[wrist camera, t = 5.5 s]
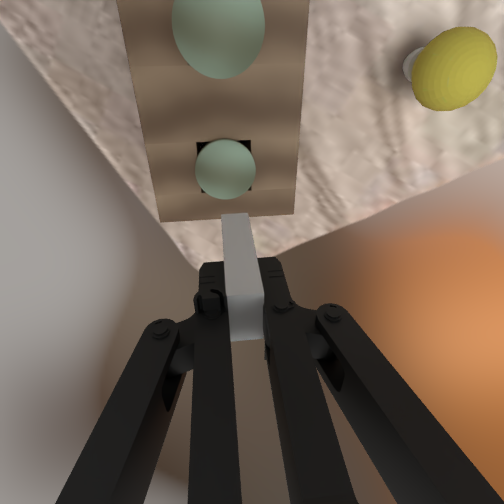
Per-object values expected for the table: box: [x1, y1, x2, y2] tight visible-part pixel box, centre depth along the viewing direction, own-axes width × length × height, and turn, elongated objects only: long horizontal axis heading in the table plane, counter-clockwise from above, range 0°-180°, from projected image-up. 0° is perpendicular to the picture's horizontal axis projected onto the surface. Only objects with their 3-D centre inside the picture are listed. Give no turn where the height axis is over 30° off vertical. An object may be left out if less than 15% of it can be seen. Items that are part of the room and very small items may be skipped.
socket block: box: [116, 0, 309, 222], centre depth 31 cm, size 22×14×8 cm, turn 1°
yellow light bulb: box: [402, 27, 497, 111], centre depth 31 cm, size 7×7×10 cm
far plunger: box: [195, 138, 256, 199], centre depth 33 cm, size 6×6×8 cm
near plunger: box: [172, 0, 265, 79], centre depth 23 cm, size 6×6×8 cm
